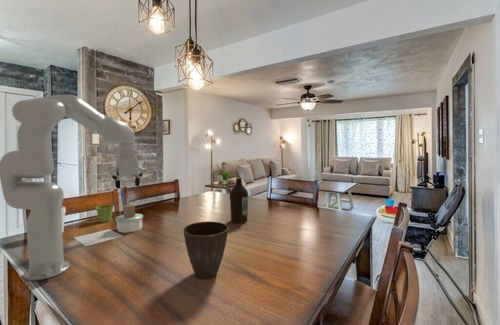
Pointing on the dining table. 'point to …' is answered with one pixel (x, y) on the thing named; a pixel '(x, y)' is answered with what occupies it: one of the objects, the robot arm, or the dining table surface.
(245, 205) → the olive oil
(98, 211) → the plant pot
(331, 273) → the dining table surface
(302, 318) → the dining table surface
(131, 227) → the bowl
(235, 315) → the dining table surface
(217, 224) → the plant pot
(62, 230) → the foam cup
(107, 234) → the mat
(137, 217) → the lid
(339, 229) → the dining table surface
